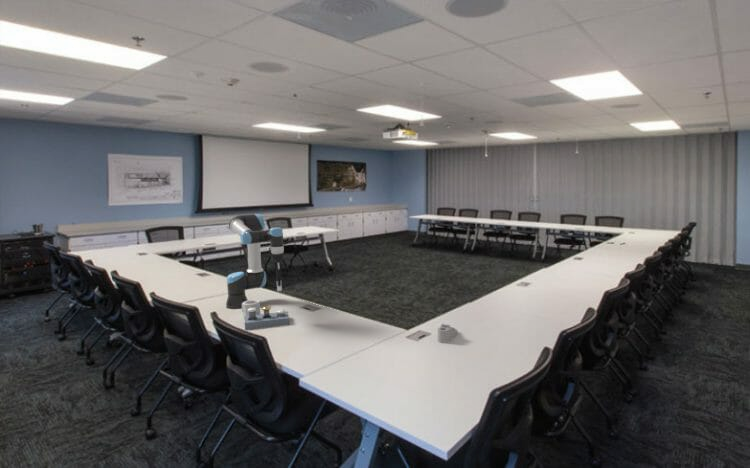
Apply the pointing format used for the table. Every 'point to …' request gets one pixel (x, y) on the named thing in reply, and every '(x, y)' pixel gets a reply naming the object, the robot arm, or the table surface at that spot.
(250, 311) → the knob
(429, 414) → the table surface
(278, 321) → the panel
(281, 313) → the knob
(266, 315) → the pot knob
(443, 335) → the grey mounting bracket
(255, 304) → the mug
